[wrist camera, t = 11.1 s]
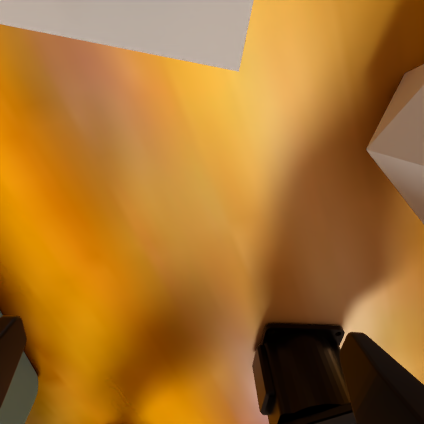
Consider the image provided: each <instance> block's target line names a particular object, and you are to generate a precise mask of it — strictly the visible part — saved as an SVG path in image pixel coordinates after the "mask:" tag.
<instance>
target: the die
mask: <svg viewBox="0 0 424 424" xmlns="http://www.w3.org/2000/svg"><path fill="white" fill-rule="evenodd" d="M366 150H367V152H368V153H369V154H370V155H371V157H372V158H373V159H374V161H375V162H376V163H377V164H378V166H379V167H380V168H381V170H382V171H383V172H384V173H385V175H386V176H387V177H388V179H389V180H390V181H391V183H392V184H393V185H394V186H395V188H396V189H397V190H398V192H399V193H400V194H401V195H402V197H403V198H404V199H405V201H406V202H407V203H408V204H409V206H410V207H411V208H412V210H413V211H414V212H415V214H416V215H417V216H418V217H419V219H420V220H421V221H422V223H423V224H424V64H423V65H421V66H419V67H417V68H415V69H413V70H411V71H409V72H406V73H405V74H404V76H403V78H402V80H401V82H400V84H399V86H398V88H397V90H396V92H395V94H394V96H393V97H392V99H391V101H390V103H389V105H388V107H387V109H386V111H385V113H384V115H383V117H382V119H381V121H380V123H379V125H378V127H377V129H376V131H375V133H374V135H373V137H372V139H371V141H370V143H369V145H368V146H367V148H366Z"/></svg>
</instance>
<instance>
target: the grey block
mask: <svg viewBox="0 0 424 424" xmlns="http://www.w3.org/2000/svg"><path fill="white" fill-rule="evenodd" d="M252 5H253V0H0V24H3V25H8V26H13V27H18V28H23V29H28V30H33V31H38V32H43V33H48V34H53V35H58V36H63V37H68V38H73V39H78V40H83V41H88V42H93V43H98V44H103V45H109V46H114V47H119V48H124V49H129V50H134V51H139V52H144V53H149V54H154V55H159V56H164V57H169V58H174V59H179V60H184V61H189V62H194V63H199V64H204V65H209V66H214V67H219V68H224V69H229V70H234V71H239V68H240V63H241V58H242V53H243V49H244V44H245V39H246V34H247V29H248V24H249V20H250V15H251V10H252Z"/></svg>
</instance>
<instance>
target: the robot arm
mask: <svg viewBox="0 0 424 424" xmlns="http://www.w3.org/2000/svg"><path fill="white" fill-rule="evenodd" d="M344 333H345V332H344V330H343V328H342V327H341V326H332V325H302V324H268V325H266V326H265V328H264V332H263V336H262V340H261V344H260V345H258V346H257V348H256V352H255V356H254V361H253V365H252V367H253V373H254V379H255V385H256V391H257V397H258V403H259V409H260V412H261V413H262V414H263V415H268V419H269V424H424V385H423V384H422V383H421V382H420V381H419V380H417V379H416V378H415V377H414V376H413V375H412V374H411V373H409V372H408V371H407V370H406V369H405V368H404V367H403V366H401V365H400V364H399V363H398V362H397V361H396V360H394V359H393V358H392V357H391V356H390V355H389V354H388V353H386V352H385V351H384V350H383V349H382V348H381V347H380V346H378V345H377V344H376V343H375V342H374V341H373V340H372V339H370V338H369V337H368V336H367V335H366V334H364V333H358V332H350V333H348V334H347V336H346V339H345V341H344V343H343V345H342V348H341V349H340V347H339V345H340V343H341V341H342V338H343V336H344ZM25 345H26V333H25V329H24V325H23V321H22V318H21V317H20V316H13V315H4V316H2V317H0V408H1V406H2V404H3V401H4V399H5V396H6V394H7V391H8V389H9V386H10V384H11V381H12V379H13V376H14V373H15V371H16V368H17V366H18V363H19V361H20V358H21V355H22V353H23V350H24V348H25Z"/></svg>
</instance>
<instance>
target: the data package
mask: <svg viewBox="0 0 424 424" xmlns="http://www.w3.org/2000/svg"><path fill="white" fill-rule="evenodd" d="M2 316H3V314H2V313H1V311H0V317H2ZM37 391H38V377H37V374H36V372H35V370H34V368H33V366H32V365H31V363H30V361H29V360H28V358H27V356H26V354H25V353H24V351H23V353H22V355H21V358H20V361H19V363H18V366H17V368H16V371H15V373H14V376H13V379H12V381H11V384H10V386H9V389H8V391H7V394H6V396H5V399H4V401H3V404H2V406H1V408H0V424H25V421H26V419H27V417H28V415H29V412H30V410H31V408H32V406H33V403H34V401H35V398H36V395H37Z"/></svg>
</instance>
